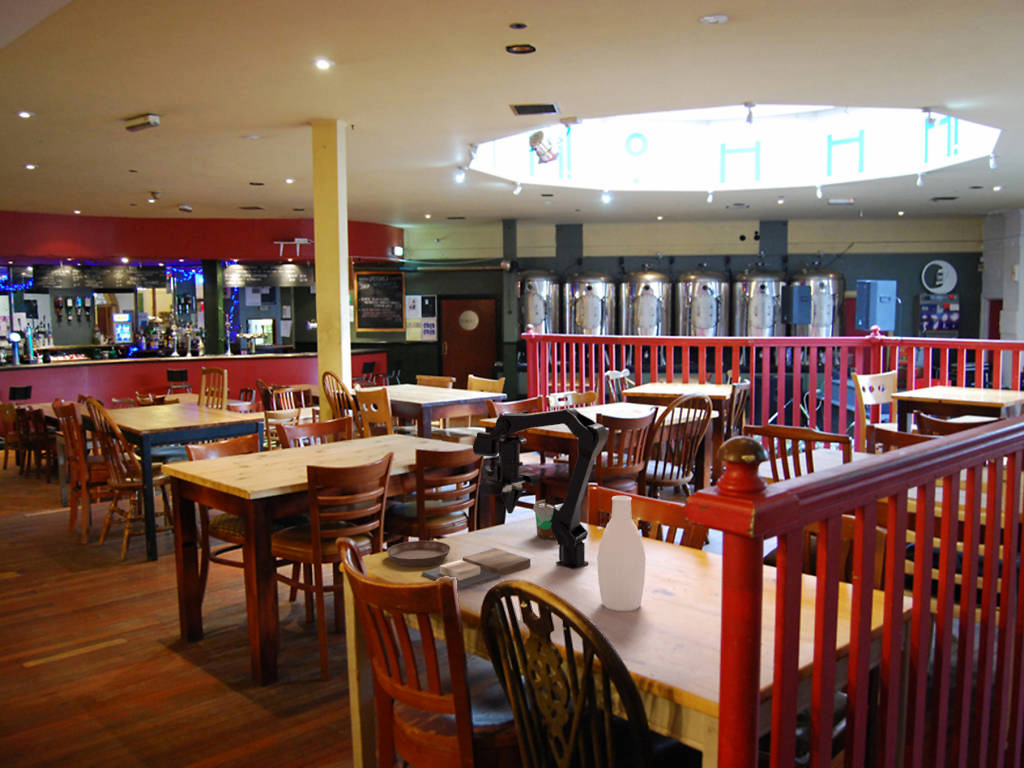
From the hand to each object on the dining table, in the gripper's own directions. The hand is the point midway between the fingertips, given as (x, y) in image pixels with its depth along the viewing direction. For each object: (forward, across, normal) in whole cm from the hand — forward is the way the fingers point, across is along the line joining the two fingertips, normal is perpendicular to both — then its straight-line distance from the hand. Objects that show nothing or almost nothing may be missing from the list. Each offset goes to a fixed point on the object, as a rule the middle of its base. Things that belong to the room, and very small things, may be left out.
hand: (509, 513), depth 223 cm
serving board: (+12, +9, +4) cm, 16 cm away
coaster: (+11, +22, +4) cm, 25 cm away
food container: (+12, -20, -6) cm, 24 cm away
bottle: (+12, +8, +46) cm, 48 cm away
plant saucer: (+12, +20, -16) cm, 28 cm away
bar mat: (+12, +22, +4) cm, 25 cm away
